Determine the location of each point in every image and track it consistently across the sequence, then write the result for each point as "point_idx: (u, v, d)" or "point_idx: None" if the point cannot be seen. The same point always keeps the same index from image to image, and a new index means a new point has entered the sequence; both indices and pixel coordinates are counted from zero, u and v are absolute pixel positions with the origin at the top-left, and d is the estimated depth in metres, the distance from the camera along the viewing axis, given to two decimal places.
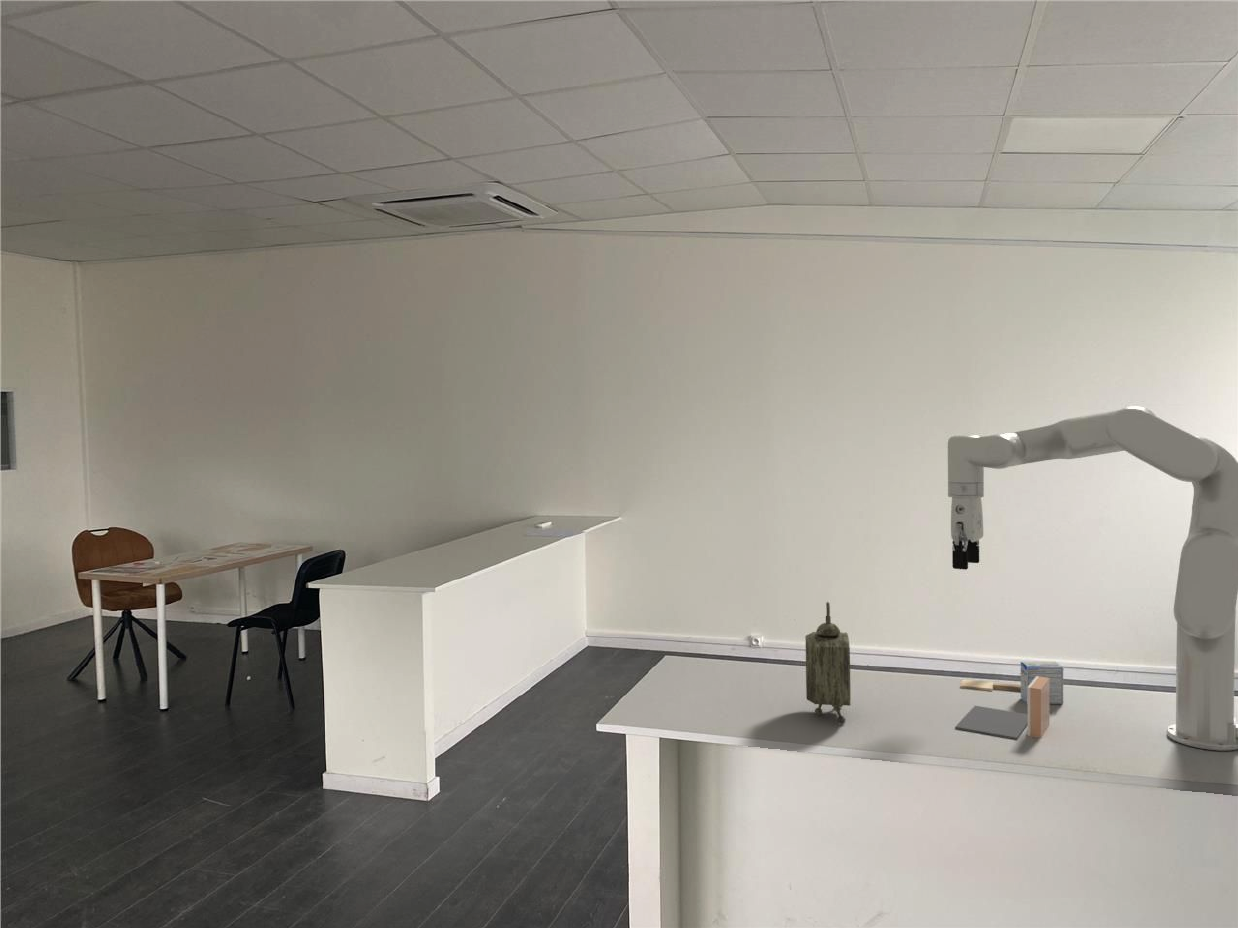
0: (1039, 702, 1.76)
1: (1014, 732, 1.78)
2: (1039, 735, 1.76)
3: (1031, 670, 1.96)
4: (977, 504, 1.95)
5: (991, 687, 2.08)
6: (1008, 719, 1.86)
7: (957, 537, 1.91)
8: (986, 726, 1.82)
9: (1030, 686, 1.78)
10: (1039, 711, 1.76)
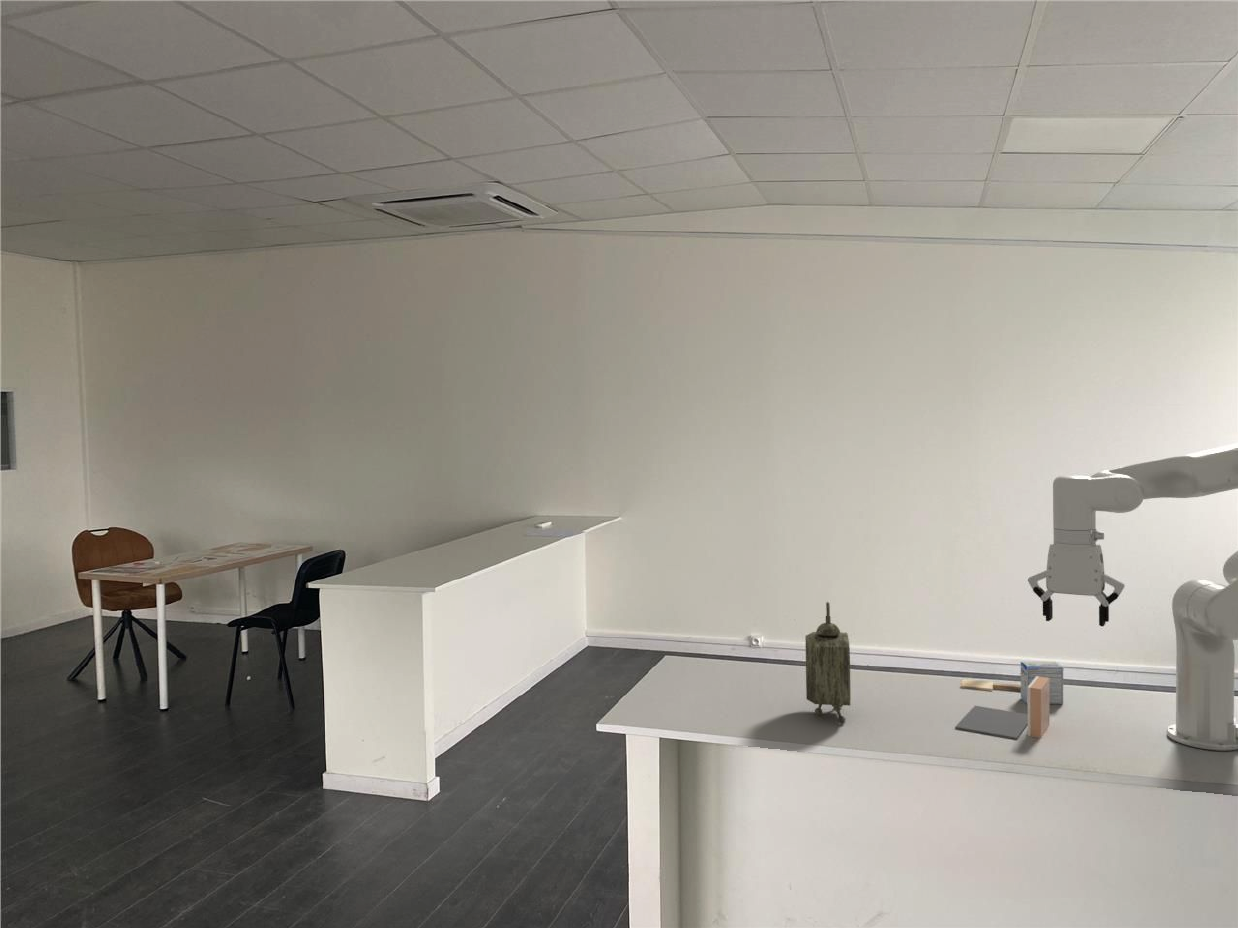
0: (1039, 702, 1.76)
1: (1014, 732, 1.78)
2: (1039, 735, 1.76)
3: (1031, 670, 1.96)
4: None
5: (991, 687, 2.08)
6: (1008, 719, 1.86)
7: (1123, 588, 1.71)
8: (986, 726, 1.82)
9: (1030, 686, 1.78)
10: (1039, 711, 1.76)
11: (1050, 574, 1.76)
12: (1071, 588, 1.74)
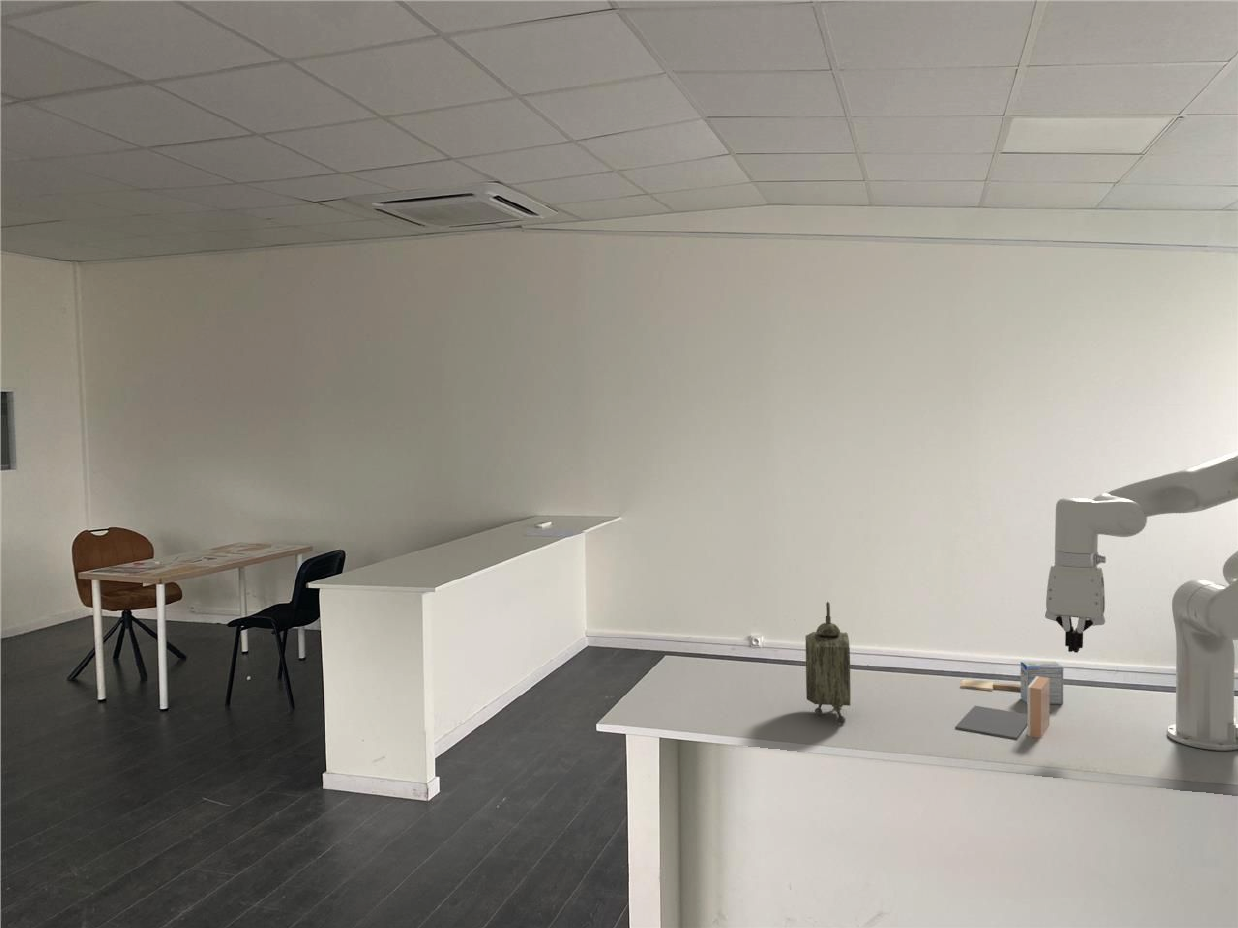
0: (1039, 702, 1.76)
1: (1014, 732, 1.78)
2: (1039, 735, 1.76)
3: (1031, 670, 1.96)
4: None
5: (991, 687, 2.08)
6: (1008, 719, 1.86)
7: None
8: (986, 726, 1.82)
9: (1030, 686, 1.78)
10: (1039, 711, 1.76)
11: (1050, 596, 1.76)
12: (1071, 610, 1.74)
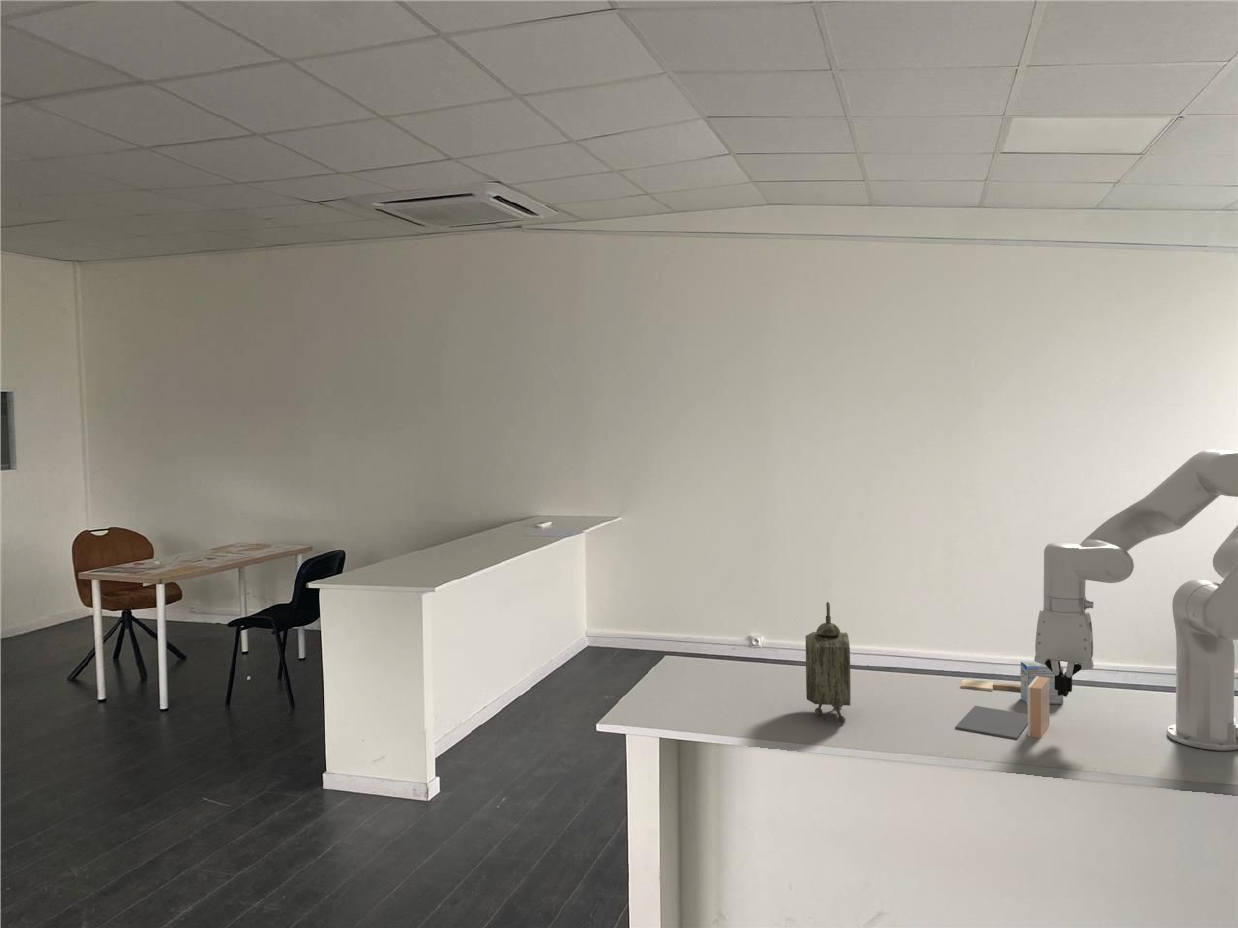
0: (1039, 702, 1.76)
1: (1014, 732, 1.78)
2: (1039, 735, 1.76)
3: (1031, 670, 1.96)
4: None
5: (991, 687, 2.08)
6: (1008, 719, 1.86)
7: None
8: (986, 726, 1.82)
9: (1030, 686, 1.78)
10: (1039, 711, 1.76)
11: (1039, 640, 1.78)
12: (1059, 655, 1.76)
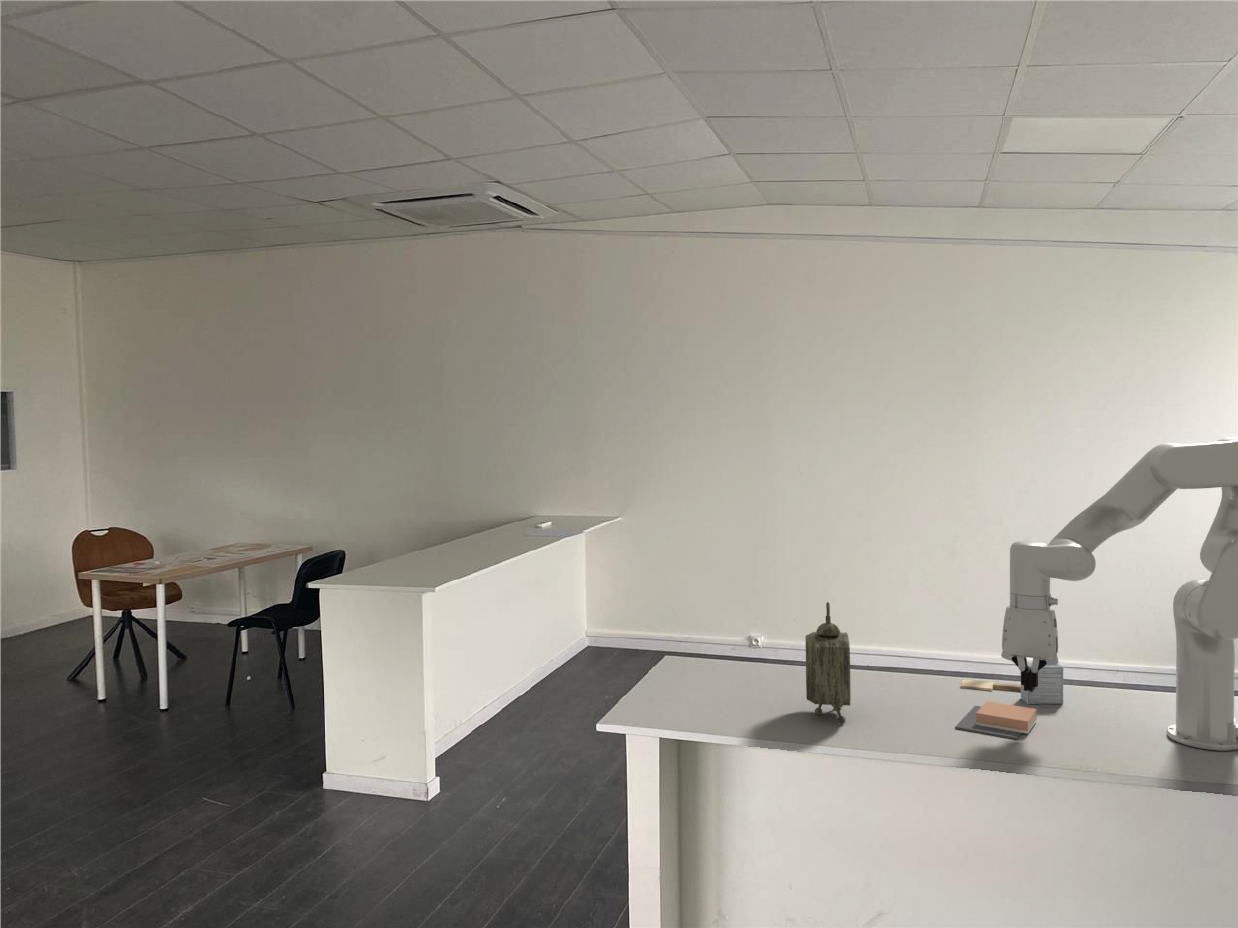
0: (990, 716, 1.82)
1: (1014, 732, 1.78)
2: (1025, 722, 1.78)
3: None
4: None
5: (991, 687, 2.08)
6: None
7: None
8: (986, 726, 1.82)
9: None
10: (999, 718, 1.81)
11: (1006, 636, 1.81)
12: (1025, 651, 1.79)
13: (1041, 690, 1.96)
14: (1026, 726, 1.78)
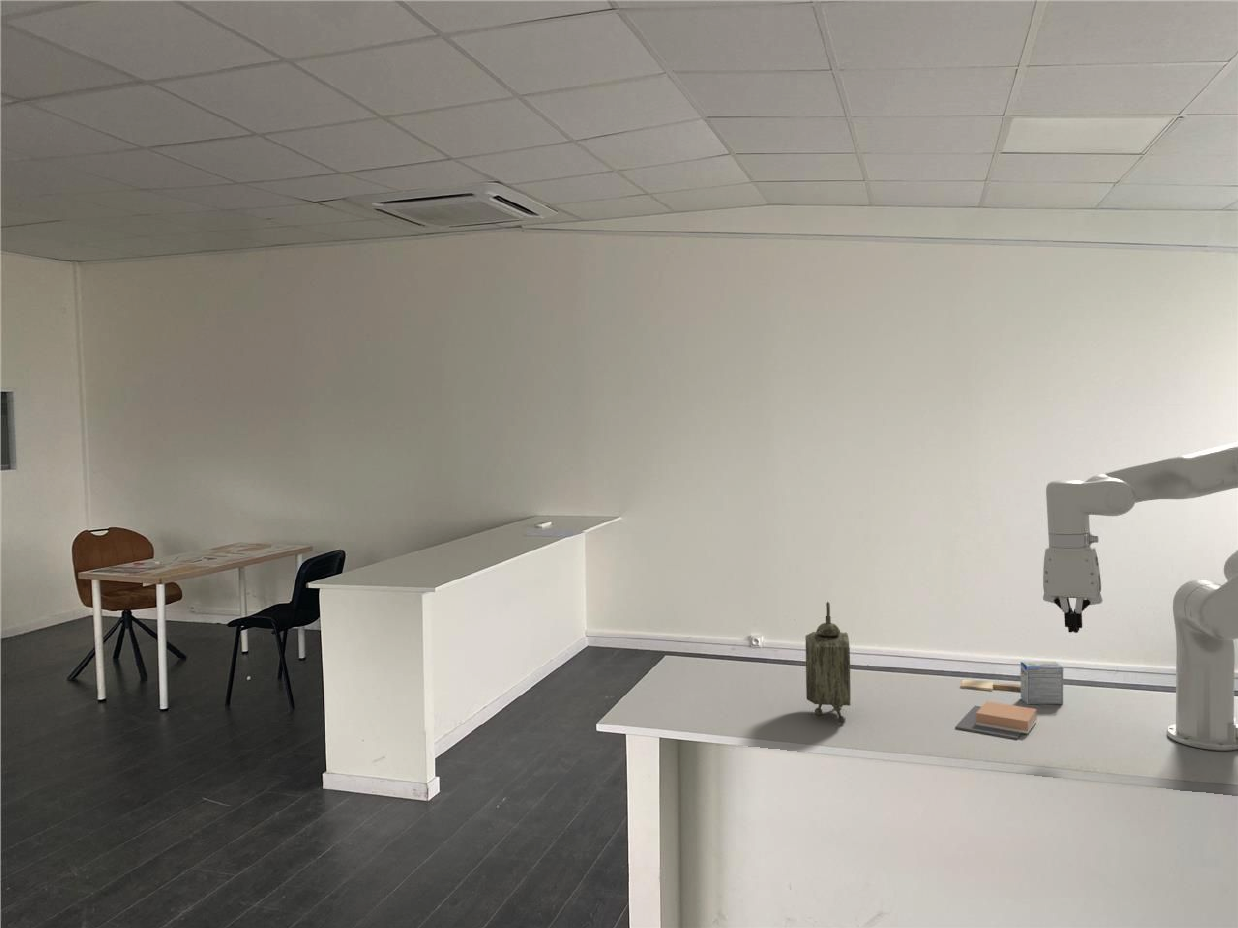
0: (990, 716, 1.82)
1: (1014, 732, 1.78)
2: (1025, 722, 1.78)
3: (1031, 670, 1.96)
4: None
5: (991, 687, 2.08)
6: None
7: None
8: (986, 726, 1.82)
9: None
10: (999, 718, 1.81)
11: (1047, 578, 1.78)
12: (1068, 591, 1.76)
13: (1041, 690, 1.96)
14: (1026, 726, 1.78)
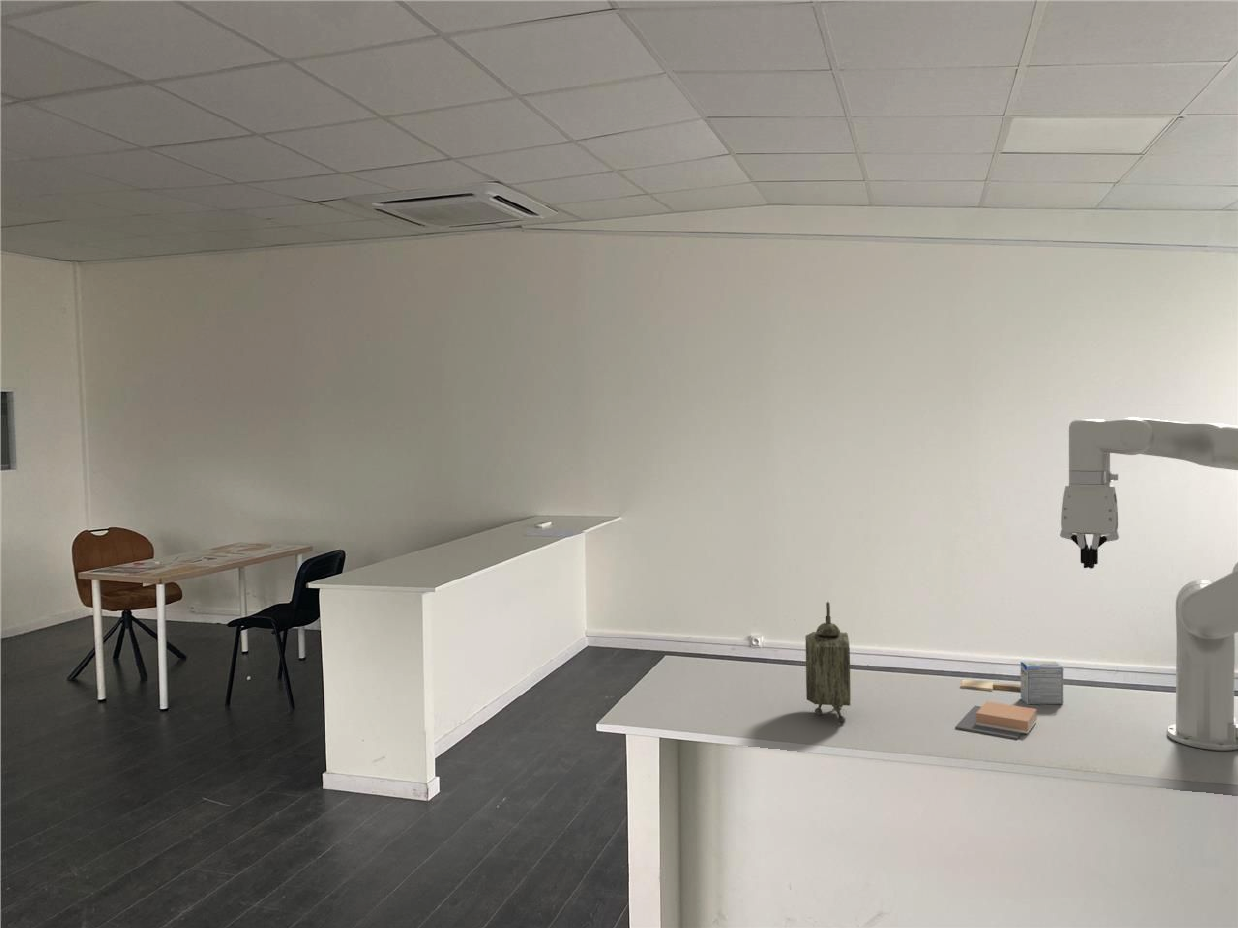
0: (990, 716, 1.82)
1: (1014, 732, 1.78)
2: (1025, 722, 1.78)
3: (1031, 670, 1.96)
4: None
5: (991, 687, 2.08)
6: None
7: None
8: (986, 726, 1.82)
9: None
10: (999, 718, 1.81)
11: (1065, 515, 1.82)
12: (1085, 528, 1.80)
13: (1041, 690, 1.96)
14: (1026, 726, 1.78)
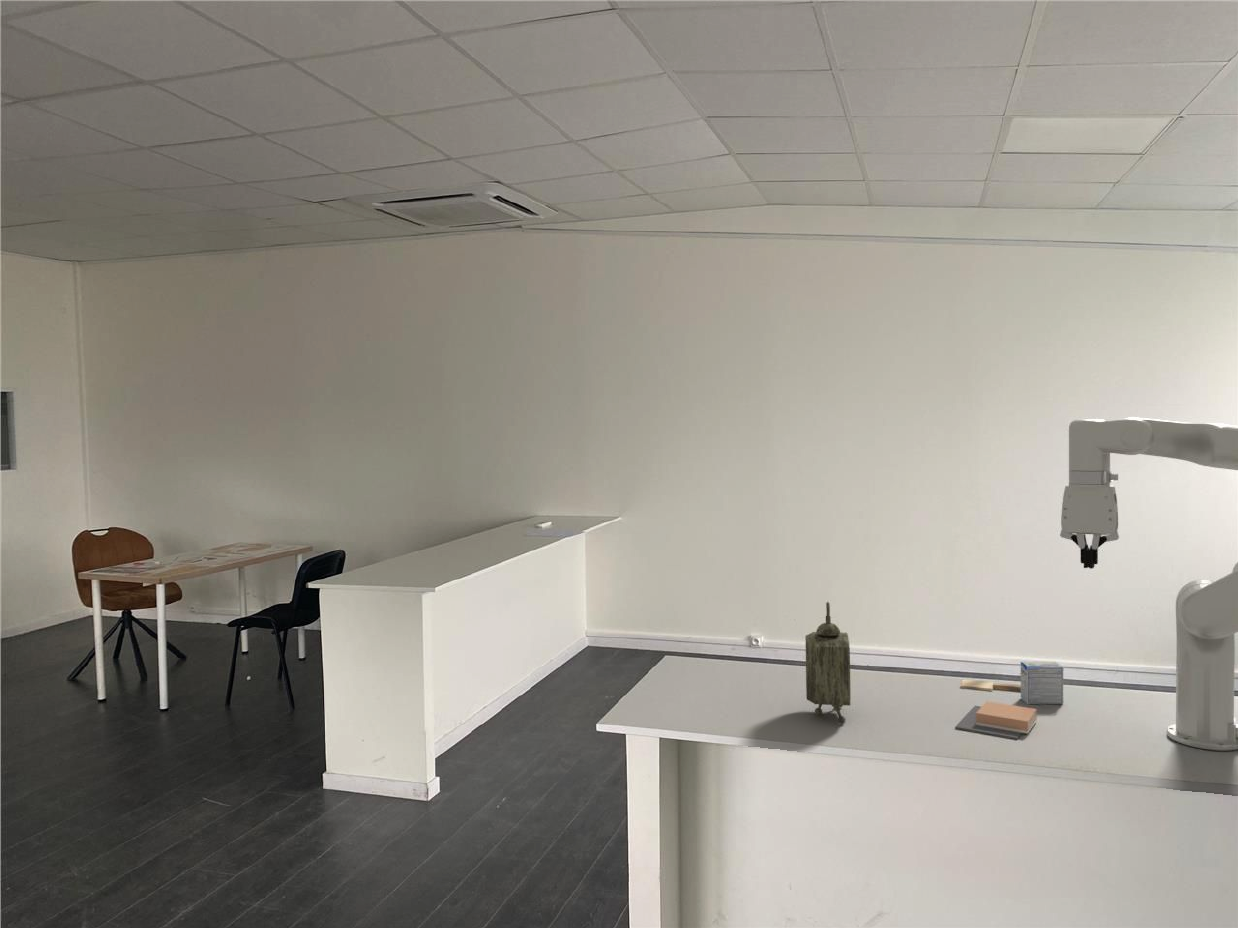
0: (990, 716, 1.82)
1: (1014, 732, 1.78)
2: (1025, 722, 1.78)
3: (1031, 670, 1.96)
4: None
5: (991, 687, 2.08)
6: None
7: None
8: (986, 726, 1.82)
9: None
10: (999, 718, 1.81)
11: (1065, 515, 1.82)
12: (1085, 528, 1.80)
13: (1041, 690, 1.96)
14: (1026, 726, 1.78)
